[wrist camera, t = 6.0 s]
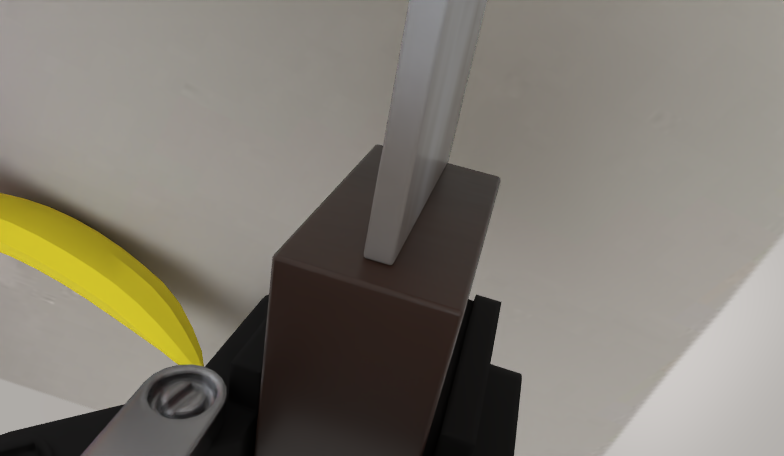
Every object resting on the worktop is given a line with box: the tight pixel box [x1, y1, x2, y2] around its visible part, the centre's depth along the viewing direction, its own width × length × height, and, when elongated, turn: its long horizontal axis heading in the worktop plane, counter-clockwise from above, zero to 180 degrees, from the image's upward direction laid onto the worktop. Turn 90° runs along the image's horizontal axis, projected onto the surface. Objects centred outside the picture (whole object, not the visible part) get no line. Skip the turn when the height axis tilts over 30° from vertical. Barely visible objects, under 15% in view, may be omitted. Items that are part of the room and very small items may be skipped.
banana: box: [0, 193, 204, 366], centre depth 29 cm, size 3×19×6 cm, turn 68°
